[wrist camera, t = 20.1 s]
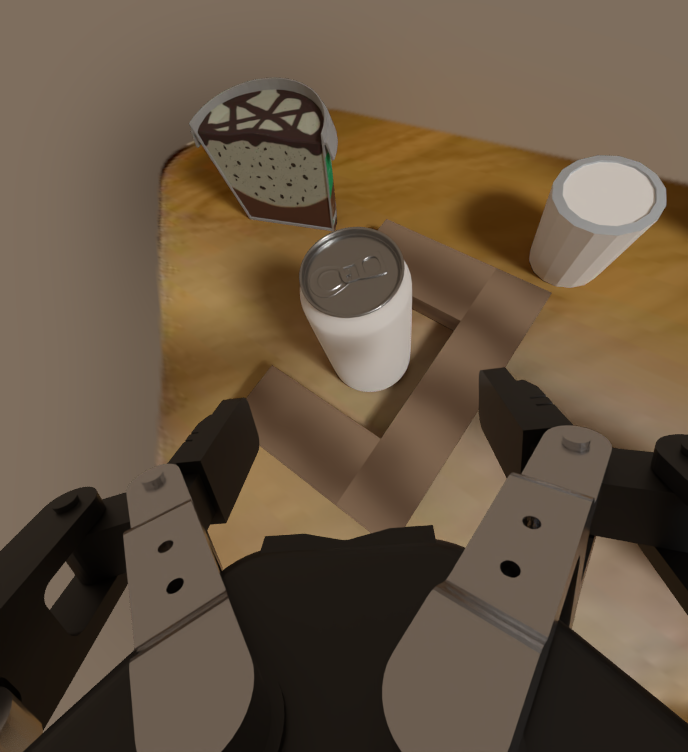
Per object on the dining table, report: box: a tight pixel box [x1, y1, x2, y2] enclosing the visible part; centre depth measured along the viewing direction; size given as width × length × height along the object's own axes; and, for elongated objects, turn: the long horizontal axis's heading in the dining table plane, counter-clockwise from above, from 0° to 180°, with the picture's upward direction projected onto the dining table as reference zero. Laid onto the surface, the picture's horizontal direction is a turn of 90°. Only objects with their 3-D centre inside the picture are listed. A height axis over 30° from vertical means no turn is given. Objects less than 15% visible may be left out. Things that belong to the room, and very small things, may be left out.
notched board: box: [246, 219, 551, 533], centre depth 29 cm, size 22×15×2 cm
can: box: [299, 227, 412, 392], centre depth 25 cm, size 6×6×12 cm
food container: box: [189, 78, 338, 231], centre depth 33 cm, size 12×6×10 cm, turn 73°
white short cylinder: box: [529, 155, 666, 288], centre depth 27 cm, size 7×7×7 cm
